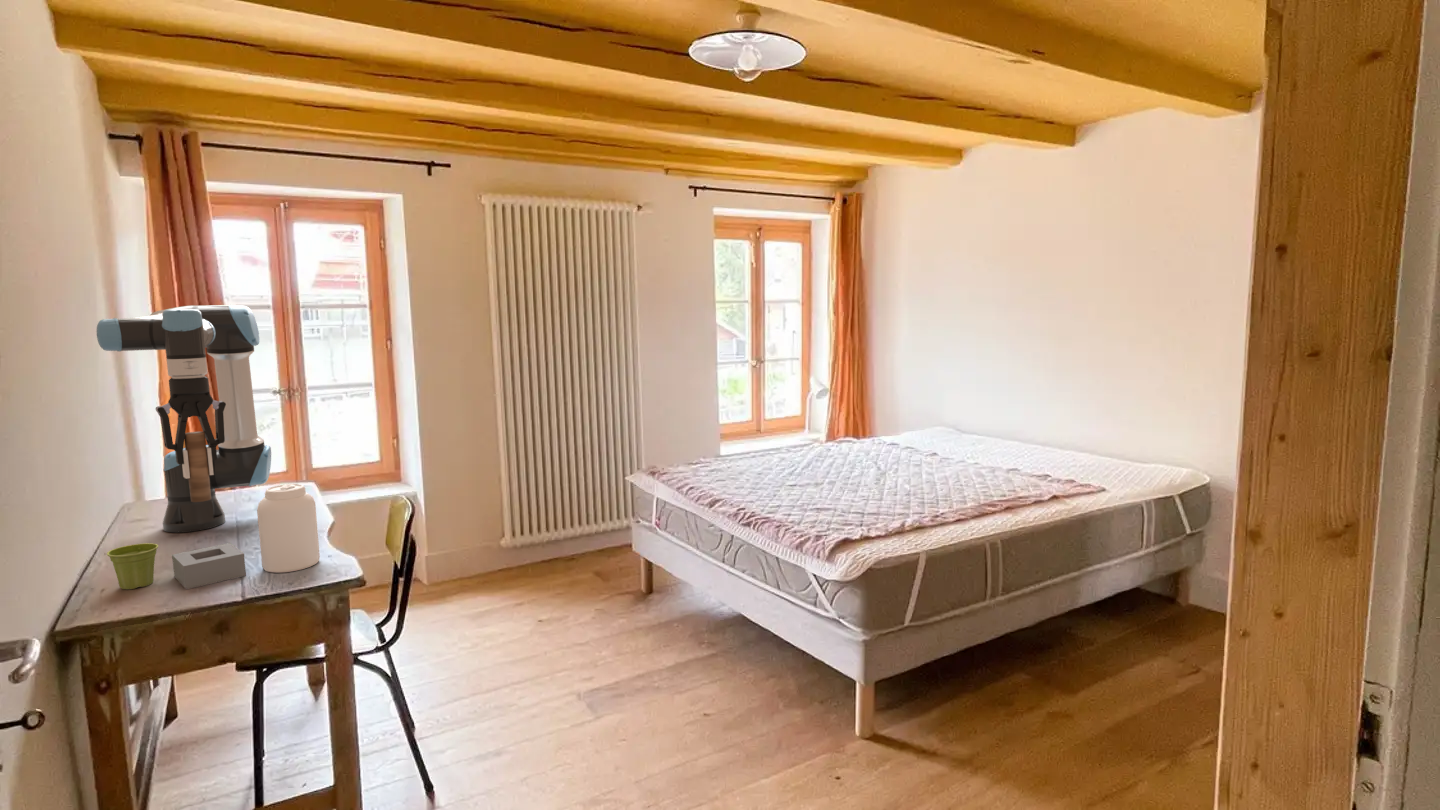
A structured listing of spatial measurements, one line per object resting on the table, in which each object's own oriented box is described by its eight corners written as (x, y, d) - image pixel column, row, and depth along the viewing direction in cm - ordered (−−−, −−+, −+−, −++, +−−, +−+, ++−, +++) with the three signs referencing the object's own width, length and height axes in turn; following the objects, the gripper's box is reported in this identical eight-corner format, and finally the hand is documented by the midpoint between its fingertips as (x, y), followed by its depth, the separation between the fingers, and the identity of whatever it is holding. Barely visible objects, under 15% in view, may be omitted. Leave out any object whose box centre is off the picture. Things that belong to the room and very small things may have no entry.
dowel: (189, 500, 178) (182, 433, 176) (209, 496, 180) (202, 430, 178) (193, 503, 175) (186, 435, 173) (213, 499, 178) (206, 432, 176)
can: (282, 556, 194) (275, 480, 192) (330, 556, 194) (324, 480, 191) (251, 574, 182) (243, 493, 179) (301, 574, 181) (294, 492, 179)
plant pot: (129, 578, 179) (125, 543, 178) (171, 577, 180) (167, 542, 179) (100, 593, 170) (96, 556, 169) (145, 591, 171) (140, 554, 170)
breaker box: (174, 576, 180) (171, 554, 180) (232, 564, 189) (230, 542, 188) (186, 589, 172) (183, 566, 171) (246, 575, 181) (243, 553, 180)
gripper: (146, 380, 165) (157, 484, 168) (235, 374, 177) (244, 472, 181) (139, 378, 170) (150, 479, 173) (226, 373, 183) (235, 467, 186)
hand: (198, 475), depth 177 cm, fingers closed on dowel, 4 cm apart
